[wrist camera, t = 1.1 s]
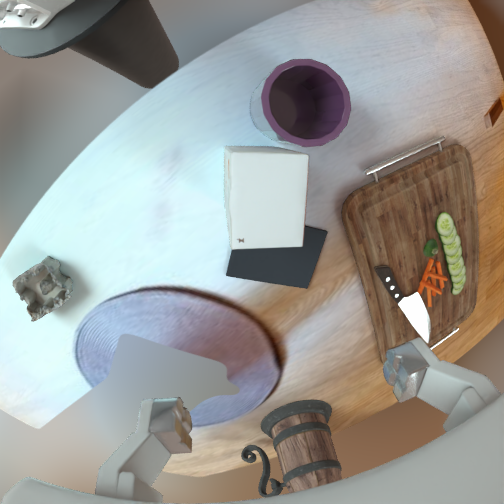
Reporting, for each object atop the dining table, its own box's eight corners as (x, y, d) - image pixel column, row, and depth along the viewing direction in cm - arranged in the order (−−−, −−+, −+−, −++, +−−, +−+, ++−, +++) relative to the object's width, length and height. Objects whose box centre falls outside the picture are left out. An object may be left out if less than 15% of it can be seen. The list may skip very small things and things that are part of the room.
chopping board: (471, 316, 52) (478, 322, 50) (383, 374, 54) (389, 384, 52) (459, 126, 34) (472, 128, 31) (329, 184, 36) (339, 189, 33)
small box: (274, 208, 36) (303, 249, 24) (223, 209, 35) (229, 251, 24) (276, 145, 33) (310, 153, 21) (223, 144, 32) (228, 151, 20)
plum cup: (241, 132, 32) (251, 132, 24) (259, 67, 29) (274, 47, 20) (309, 150, 34) (338, 157, 25) (325, 88, 30) (359, 78, 22)
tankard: (317, 389, 52) (348, 471, 34) (340, 418, 59) (365, 482, 41) (221, 429, 55) (229, 506, 37) (257, 451, 62) (269, 514, 44)
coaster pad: (226, 274, 39) (226, 276, 39) (241, 212, 36) (241, 212, 35) (306, 287, 42) (307, 288, 41) (326, 230, 38) (327, 231, 38)
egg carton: (41, 310, 38) (31, 324, 34) (17, 274, 35) (5, 286, 31) (80, 291, 37) (70, 306, 34) (54, 249, 34) (41, 262, 30)
